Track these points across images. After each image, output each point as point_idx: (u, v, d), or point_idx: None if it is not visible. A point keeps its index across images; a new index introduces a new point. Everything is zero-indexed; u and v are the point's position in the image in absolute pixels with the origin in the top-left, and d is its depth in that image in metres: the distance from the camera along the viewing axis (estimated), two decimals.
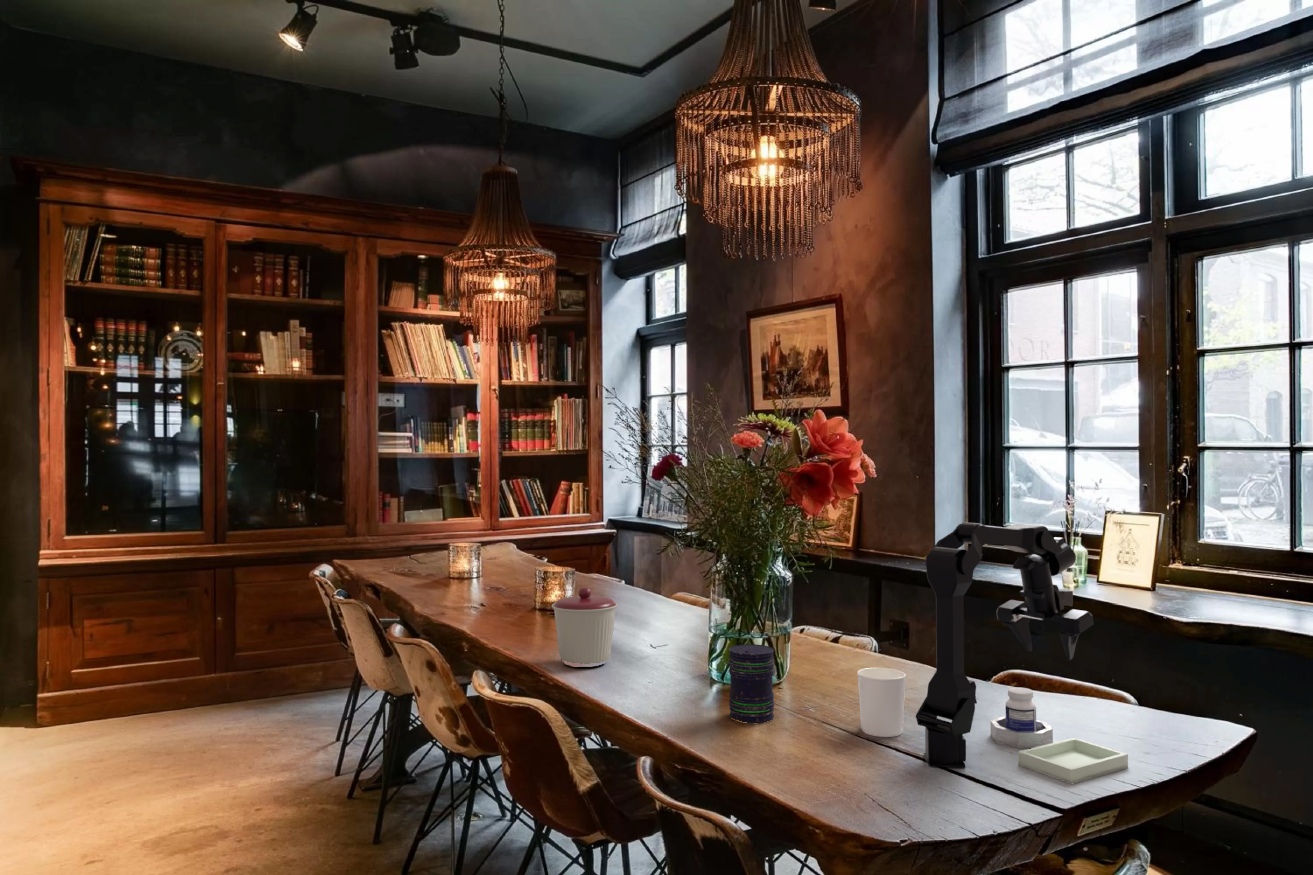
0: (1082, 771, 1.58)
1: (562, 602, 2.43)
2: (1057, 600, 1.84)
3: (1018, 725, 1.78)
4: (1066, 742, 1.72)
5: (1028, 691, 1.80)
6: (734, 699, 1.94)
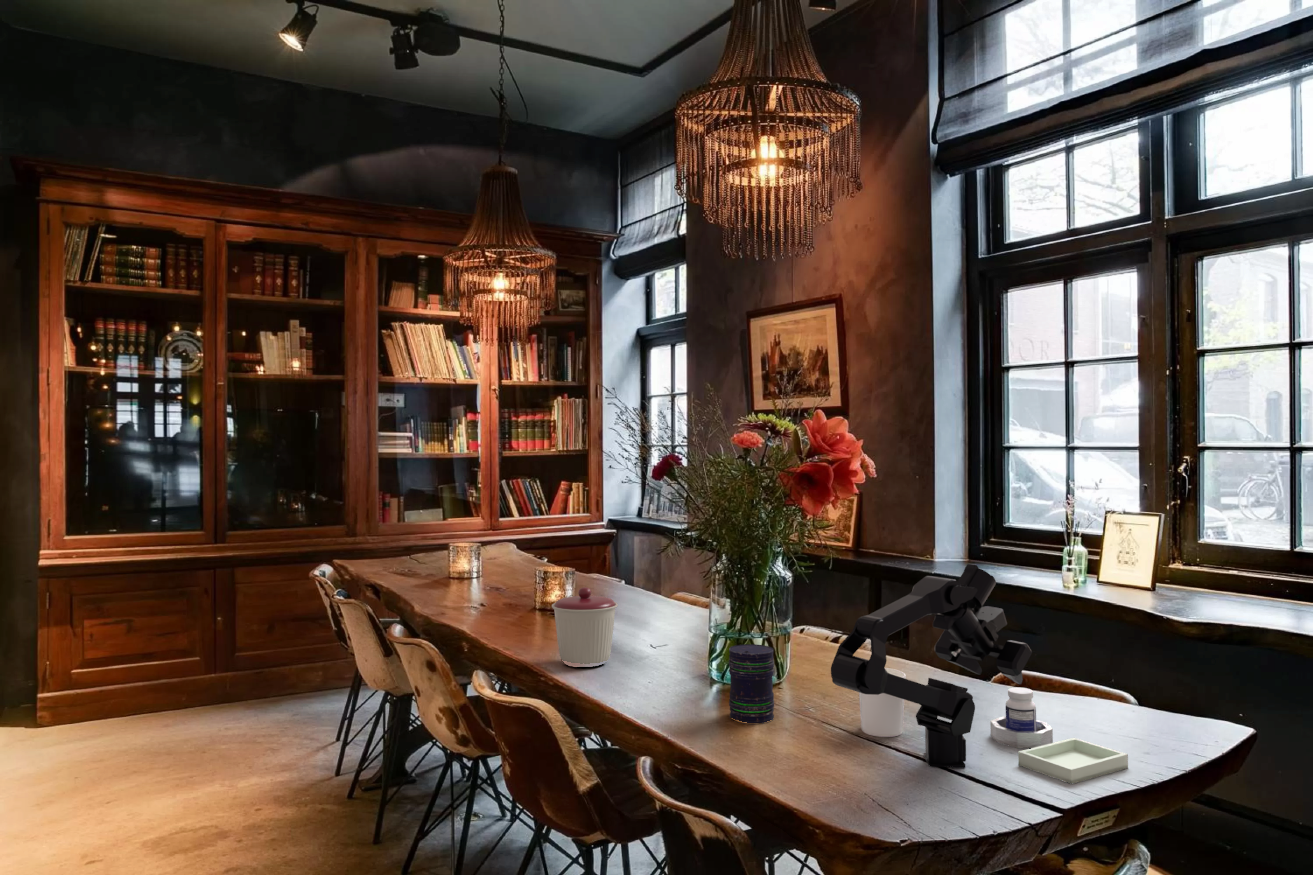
0: (1082, 771, 1.58)
1: (562, 602, 2.43)
2: (989, 633, 1.72)
3: (1018, 725, 1.78)
4: (1066, 742, 1.72)
5: (1028, 691, 1.80)
6: (734, 699, 1.94)
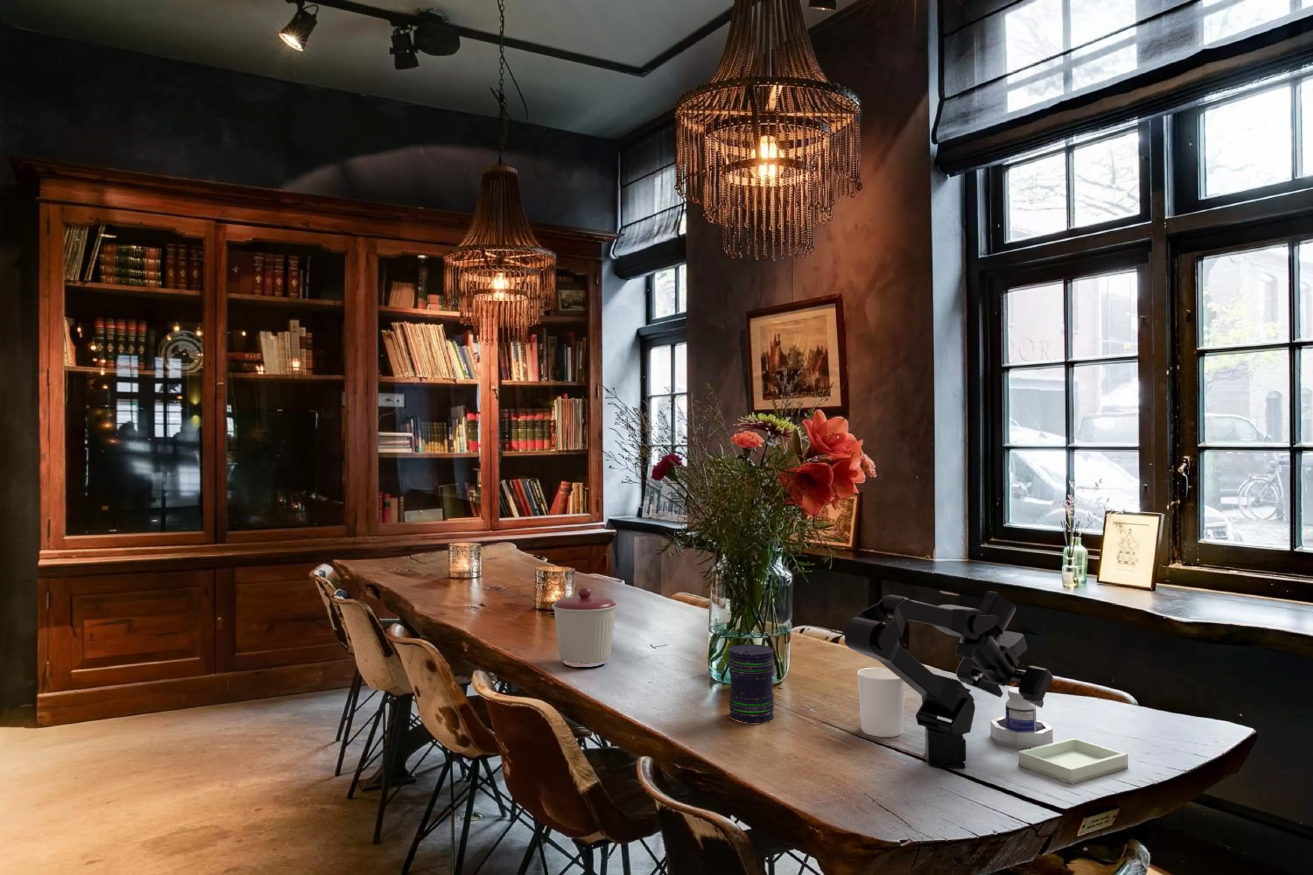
0: (1082, 771, 1.58)
1: (562, 602, 2.43)
2: (1010, 659, 1.75)
3: (1018, 725, 1.78)
4: (1066, 742, 1.72)
5: None
6: (734, 699, 1.94)
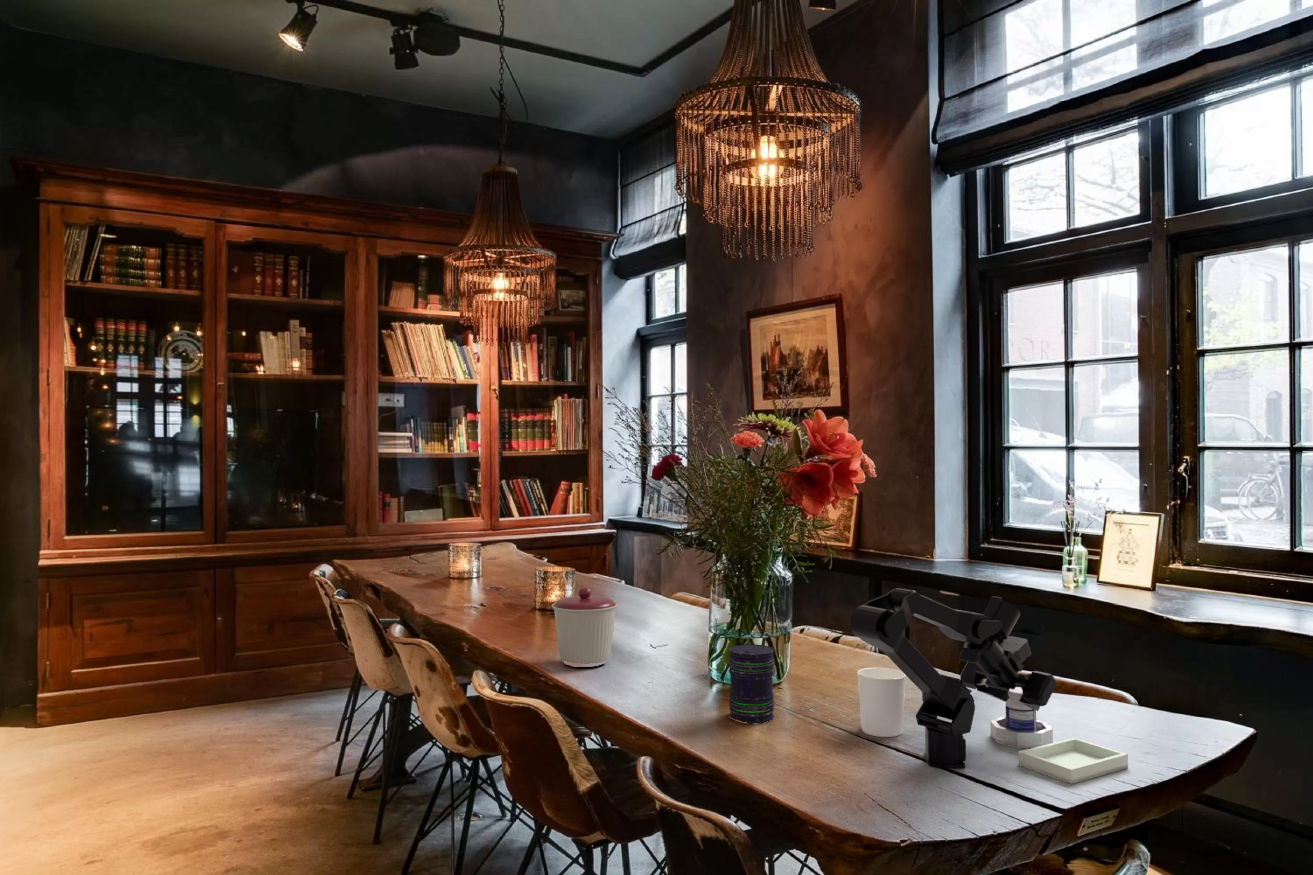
0: (1082, 771, 1.58)
1: (562, 602, 2.43)
2: (1014, 664, 1.76)
3: (1018, 725, 1.78)
4: (1066, 742, 1.72)
5: None
6: (734, 699, 1.94)
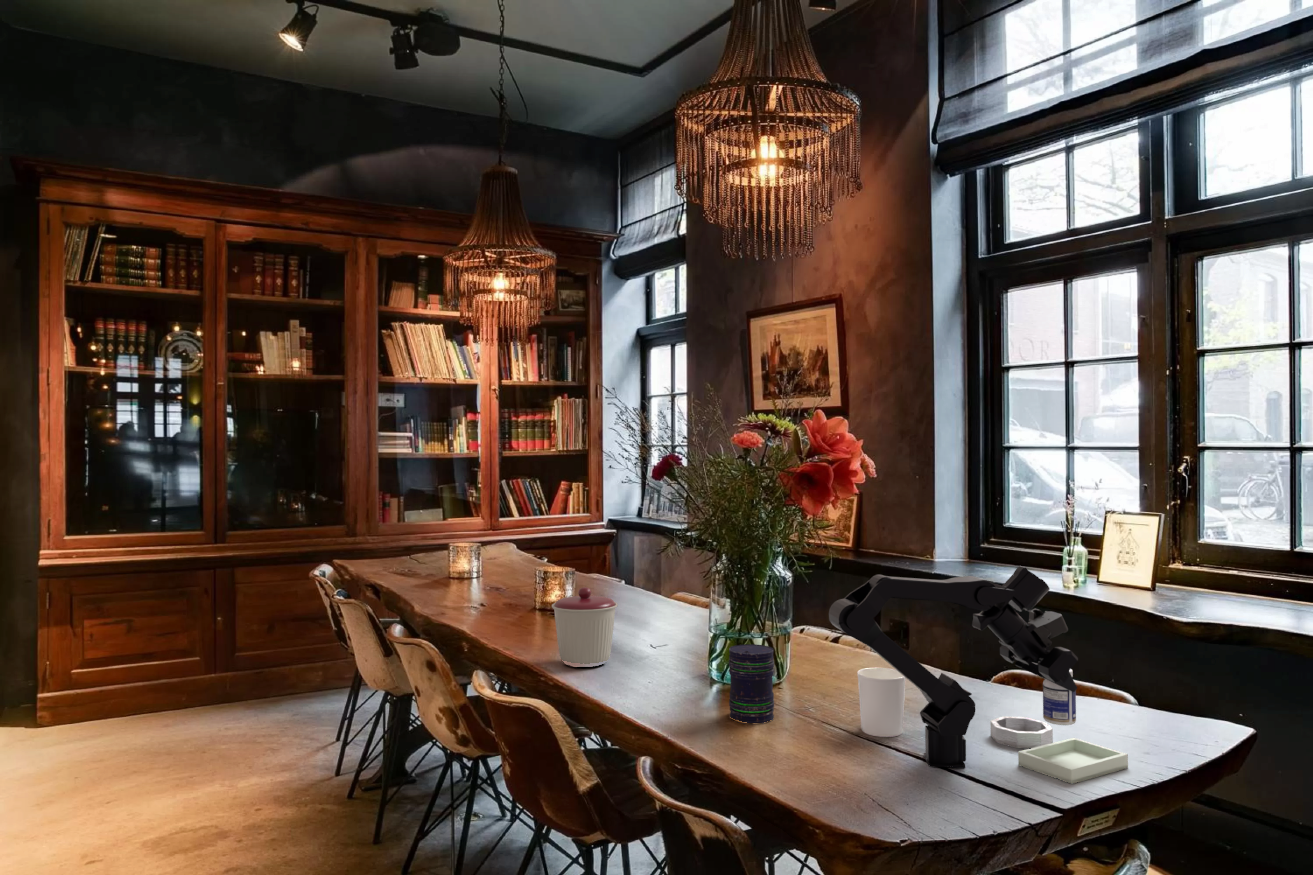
0: (1082, 771, 1.58)
1: (562, 602, 2.43)
2: (1039, 638, 1.68)
3: (1050, 704, 1.69)
4: (1066, 742, 1.72)
5: None
6: (734, 699, 1.94)
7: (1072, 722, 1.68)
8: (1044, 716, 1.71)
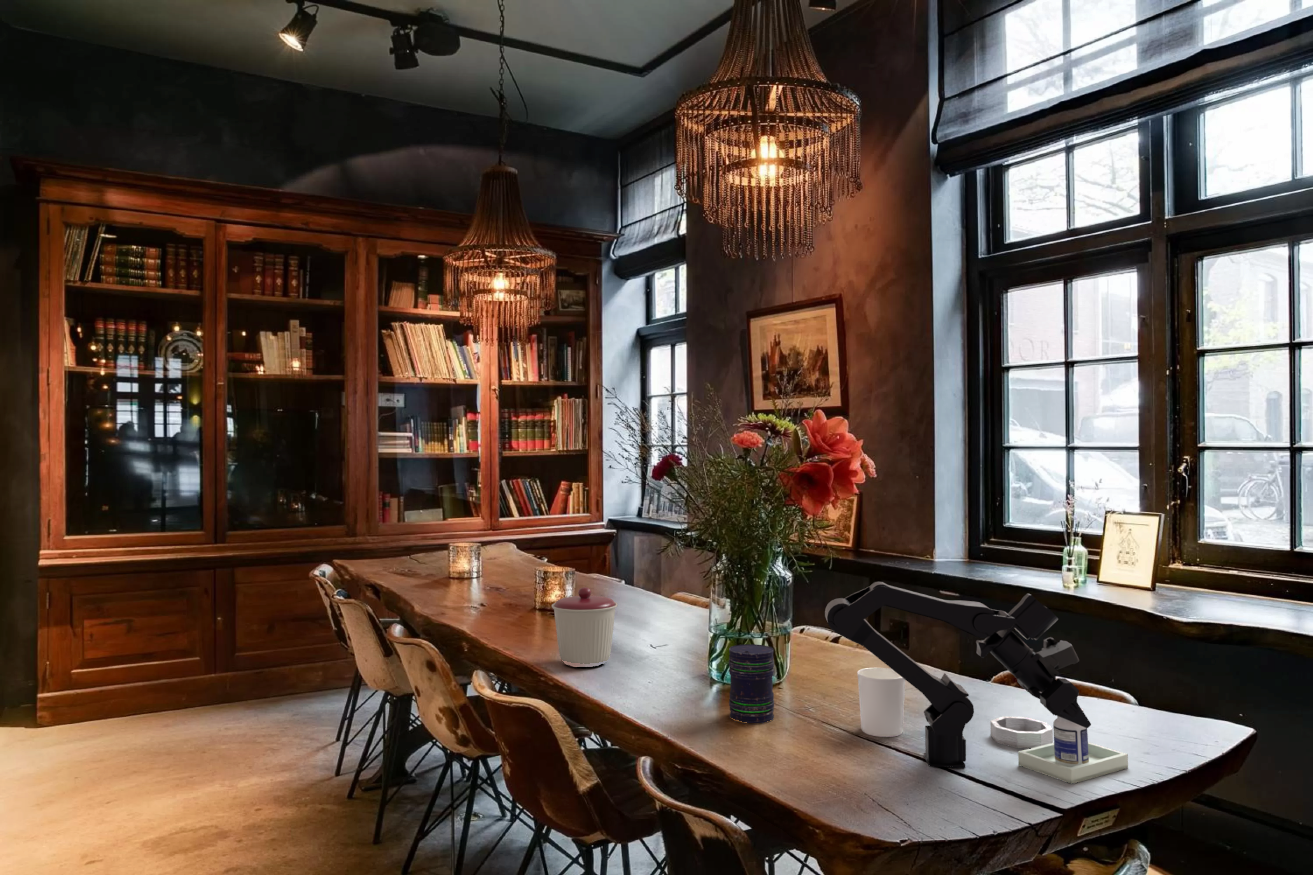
0: (1082, 771, 1.58)
1: (562, 602, 2.43)
2: (1045, 668, 1.64)
3: (1058, 744, 1.64)
4: None
5: None
6: (734, 699, 1.94)
7: None
8: (1055, 757, 1.66)
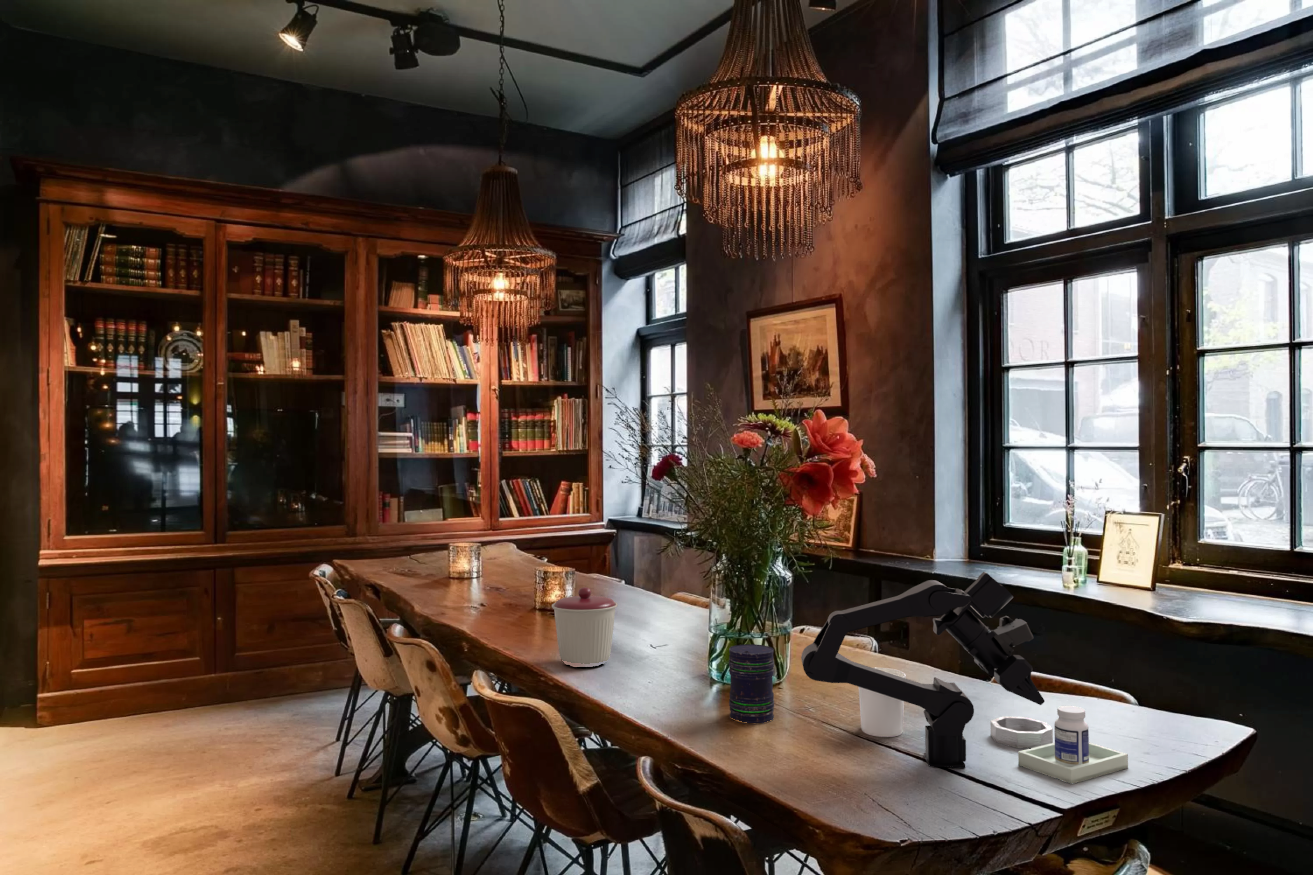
0: (1082, 771, 1.58)
1: (562, 602, 2.43)
2: (1000, 645, 1.65)
3: (1059, 744, 1.64)
4: None
5: (1076, 711, 1.64)
6: (734, 699, 1.94)
7: None
8: (1055, 756, 1.66)
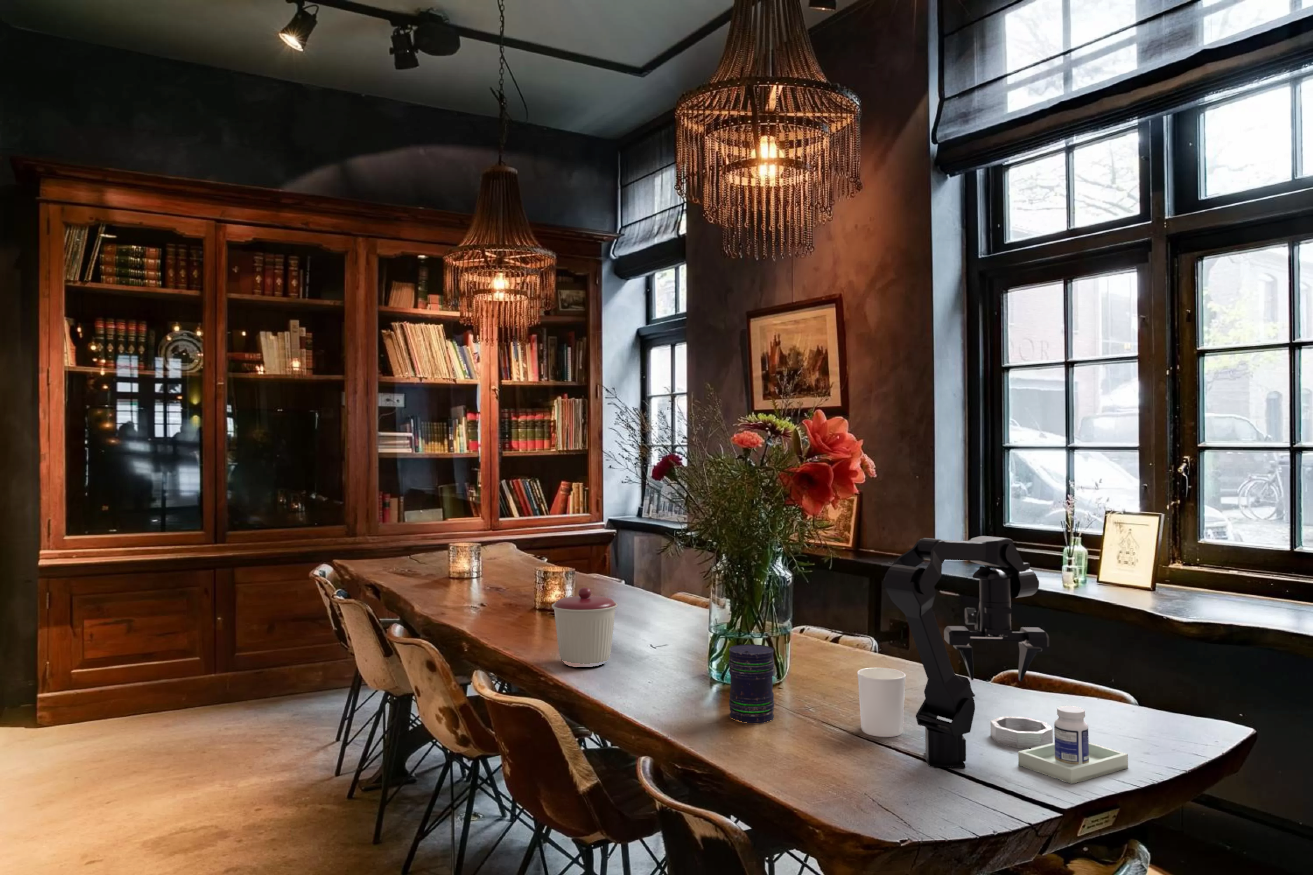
0: (1082, 771, 1.58)
1: (562, 602, 2.43)
2: None
3: (1059, 744, 1.64)
4: None
5: (1076, 711, 1.64)
6: (734, 699, 1.94)
7: None
8: (1055, 756, 1.66)
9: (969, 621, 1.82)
